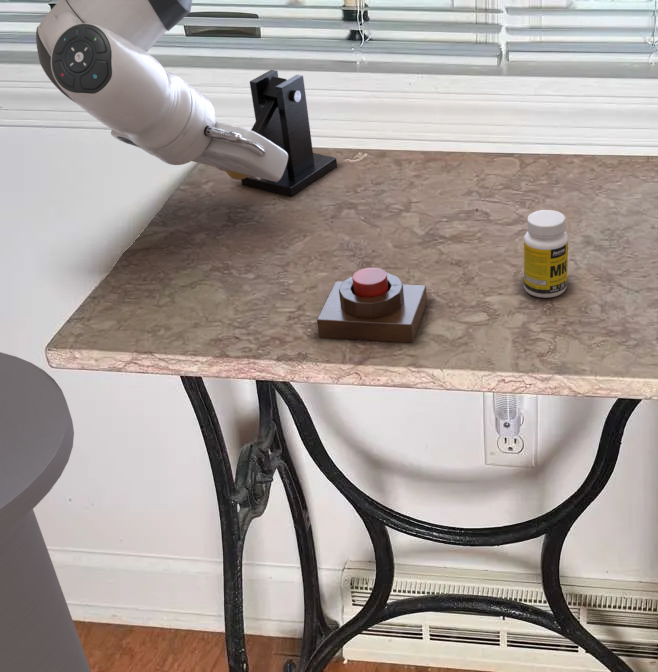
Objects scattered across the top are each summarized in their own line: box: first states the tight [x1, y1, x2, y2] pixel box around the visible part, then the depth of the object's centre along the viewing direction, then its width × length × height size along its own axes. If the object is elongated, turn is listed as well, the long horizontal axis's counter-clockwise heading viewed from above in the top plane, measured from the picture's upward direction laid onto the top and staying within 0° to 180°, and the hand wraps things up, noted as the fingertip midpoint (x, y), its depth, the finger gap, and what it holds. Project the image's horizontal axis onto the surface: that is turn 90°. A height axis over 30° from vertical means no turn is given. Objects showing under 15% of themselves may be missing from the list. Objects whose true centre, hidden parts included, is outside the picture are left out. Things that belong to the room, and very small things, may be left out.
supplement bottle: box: [523, 209, 569, 299], centre depth 127 cm, size 5×5×8 cm
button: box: [351, 267, 388, 298], centre depth 123 cm, size 4×4×2 cm
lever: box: [224, 76, 288, 181], centre depth 146 cm, size 14×3×3 cm
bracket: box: [240, 69, 338, 198], centre depth 150 cm, size 10×8×13 cm
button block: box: [316, 272, 428, 343], centre depth 125 cm, size 10×8×4 cm
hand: (243, 169), depth 146 cm, fingers closed on lever, 3 cm apart
